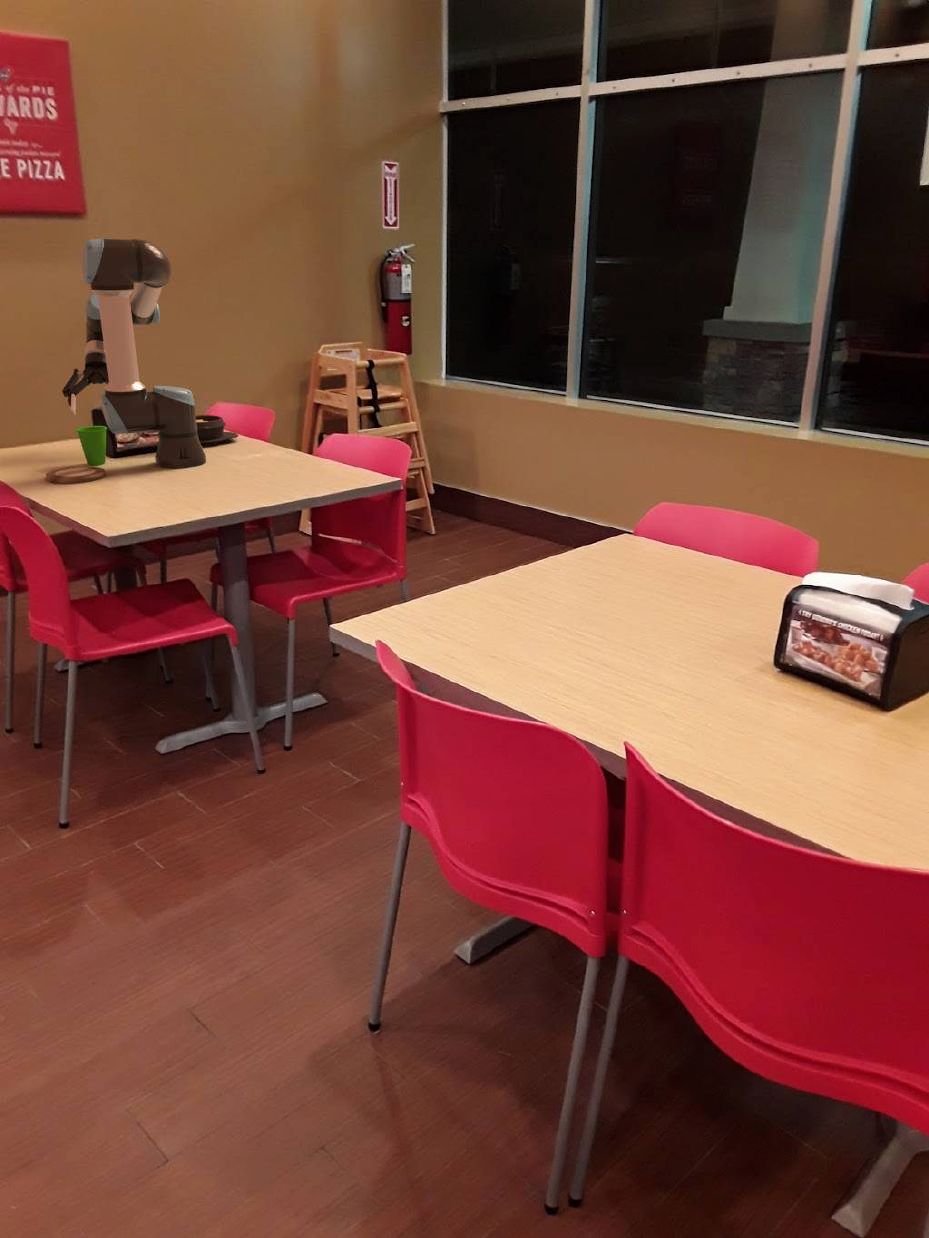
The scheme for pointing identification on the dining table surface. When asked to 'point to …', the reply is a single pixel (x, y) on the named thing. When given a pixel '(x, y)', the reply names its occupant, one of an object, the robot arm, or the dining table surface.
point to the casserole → (212, 430)
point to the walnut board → (75, 475)
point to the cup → (93, 444)
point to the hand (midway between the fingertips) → (95, 413)
